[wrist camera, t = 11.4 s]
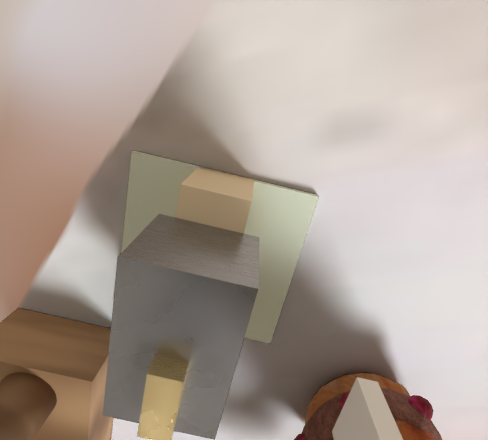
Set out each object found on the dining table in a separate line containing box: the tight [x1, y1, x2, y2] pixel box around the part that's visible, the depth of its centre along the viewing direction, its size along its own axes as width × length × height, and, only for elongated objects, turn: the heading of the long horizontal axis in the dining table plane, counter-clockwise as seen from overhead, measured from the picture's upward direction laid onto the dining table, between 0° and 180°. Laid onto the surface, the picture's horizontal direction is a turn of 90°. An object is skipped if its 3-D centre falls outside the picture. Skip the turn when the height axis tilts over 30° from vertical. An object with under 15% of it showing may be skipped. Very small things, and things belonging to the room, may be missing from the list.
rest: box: [121, 151, 319, 344], centre depth 16 cm, size 10×10×4 cm
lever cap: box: [103, 214, 260, 440], centre depth 12 cm, size 7×4×5 cm, turn 167°
